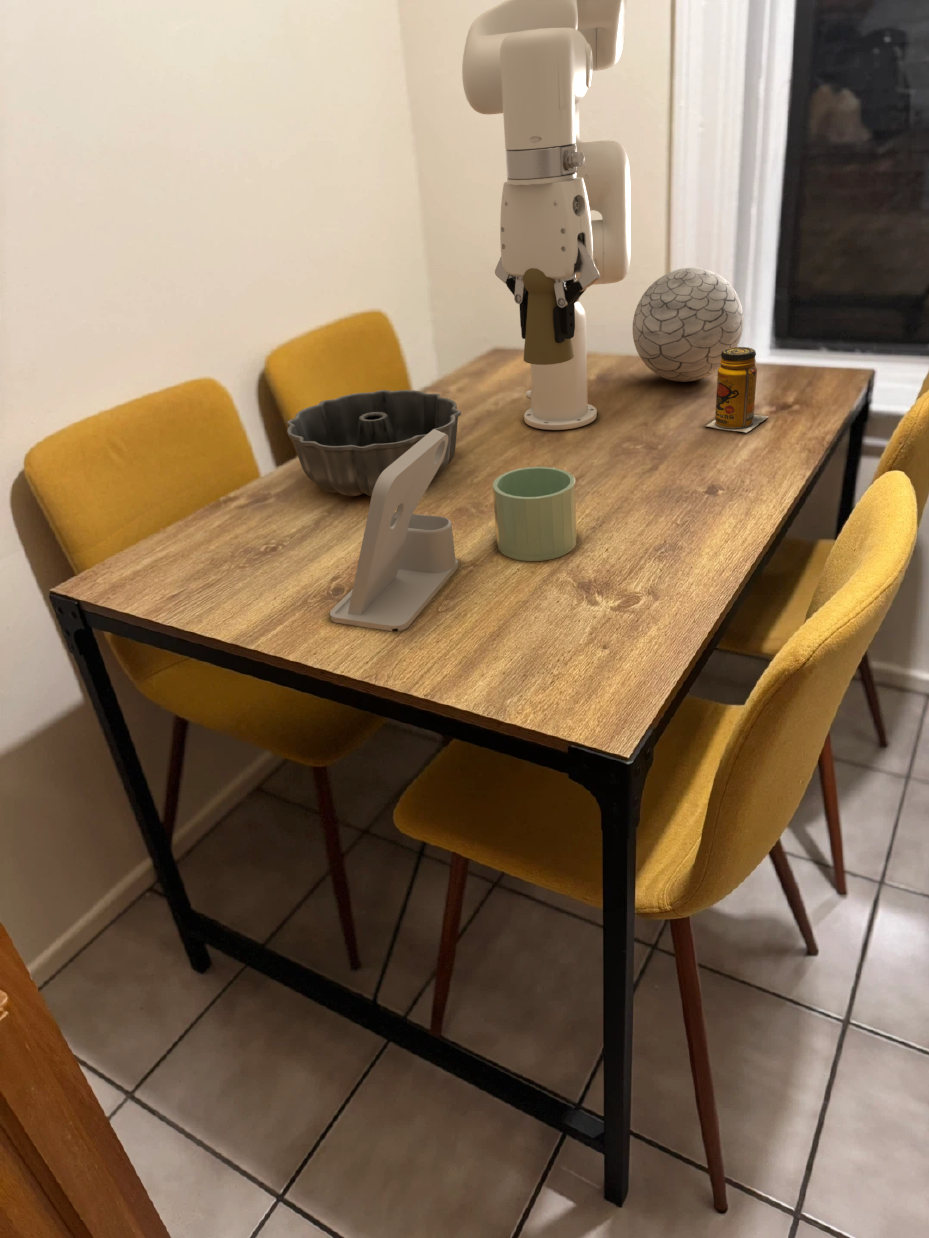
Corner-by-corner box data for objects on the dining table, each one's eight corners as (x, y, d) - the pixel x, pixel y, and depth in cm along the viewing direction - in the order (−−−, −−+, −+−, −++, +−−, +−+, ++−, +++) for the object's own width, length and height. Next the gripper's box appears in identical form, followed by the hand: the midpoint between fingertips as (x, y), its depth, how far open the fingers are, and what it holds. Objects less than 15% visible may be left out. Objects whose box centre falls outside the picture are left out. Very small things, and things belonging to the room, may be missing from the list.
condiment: (704, 427, 146) (708, 353, 140) (728, 412, 151) (732, 340, 145) (746, 434, 142) (752, 358, 136) (769, 418, 147) (775, 344, 141)
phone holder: (393, 553, 116) (374, 420, 107) (464, 562, 112) (451, 424, 103) (326, 621, 103) (297, 475, 93) (404, 633, 99) (383, 482, 90)
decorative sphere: (673, 359, 181) (676, 255, 171) (760, 374, 168) (769, 261, 157) (610, 385, 170) (610, 275, 160) (698, 402, 157) (704, 283, 147)
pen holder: (483, 540, 117) (477, 480, 113) (547, 519, 121) (544, 460, 117) (524, 569, 109) (521, 505, 105) (592, 545, 113) (591, 483, 109)
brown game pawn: (571, 364, 103) (568, 264, 98) (520, 365, 105) (514, 267, 99) (576, 349, 108) (573, 254, 103) (527, 351, 110) (522, 257, 104)
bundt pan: (492, 453, 145) (487, 392, 139) (417, 520, 125) (409, 452, 119) (353, 441, 155) (344, 385, 150) (264, 502, 135) (250, 439, 130)
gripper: (626, 160, 93) (625, 337, 103) (501, 163, 103) (511, 325, 113) (586, 169, 89) (589, 353, 98) (459, 172, 99) (473, 339, 108)
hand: (547, 336), depth 105 cm, fingers closed on brown game pawn, 4 cm apart
